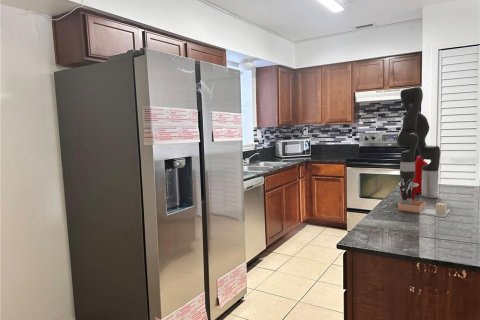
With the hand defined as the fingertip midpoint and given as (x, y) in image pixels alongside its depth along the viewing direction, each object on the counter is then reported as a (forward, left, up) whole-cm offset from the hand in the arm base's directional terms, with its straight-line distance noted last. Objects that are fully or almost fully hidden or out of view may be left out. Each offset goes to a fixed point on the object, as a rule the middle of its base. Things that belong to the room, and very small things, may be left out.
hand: (406, 198), depth 185 cm
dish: (0, +2, -6) cm, 7 cm away
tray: (0, +14, -6) cm, 15 cm away
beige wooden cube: (0, +17, -6) cm, 18 cm away
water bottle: (-50, -7, -6) cm, 51 cm away
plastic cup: (-15, -4, -6) cm, 17 cm away
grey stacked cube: (0, 0, -5) cm, 5 cm away
